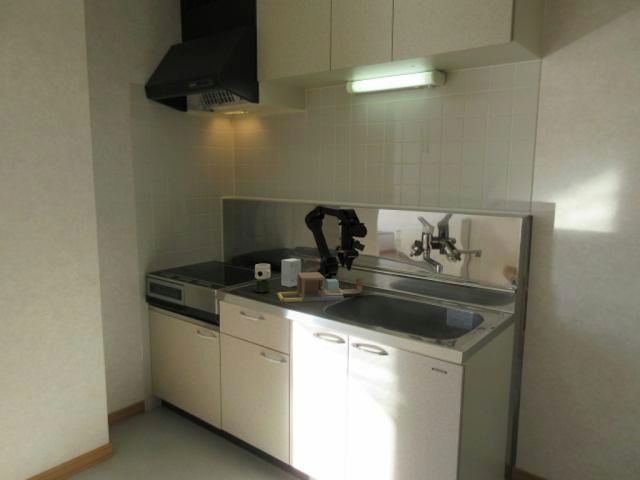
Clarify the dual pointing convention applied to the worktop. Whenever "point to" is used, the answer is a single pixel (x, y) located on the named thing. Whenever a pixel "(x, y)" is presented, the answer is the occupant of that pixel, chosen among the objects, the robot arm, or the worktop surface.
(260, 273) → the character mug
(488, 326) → the worktop surface
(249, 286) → the worktop surface
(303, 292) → the tunnel track
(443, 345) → the worktop surface
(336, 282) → the block
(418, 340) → the worktop surface
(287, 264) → the small box
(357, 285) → the sled
